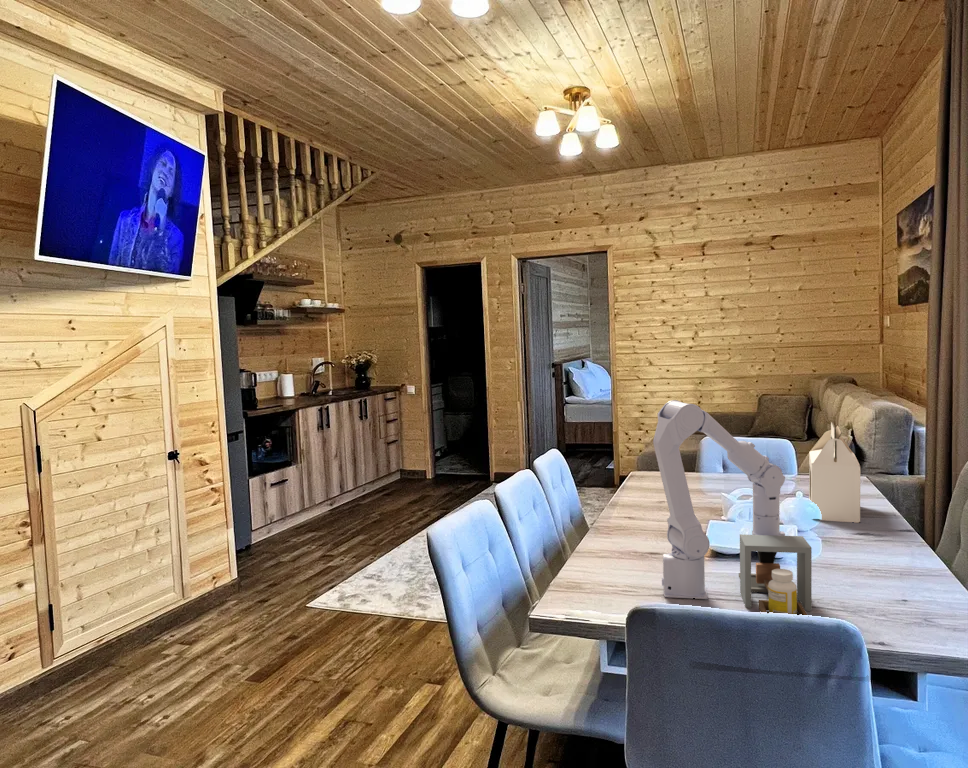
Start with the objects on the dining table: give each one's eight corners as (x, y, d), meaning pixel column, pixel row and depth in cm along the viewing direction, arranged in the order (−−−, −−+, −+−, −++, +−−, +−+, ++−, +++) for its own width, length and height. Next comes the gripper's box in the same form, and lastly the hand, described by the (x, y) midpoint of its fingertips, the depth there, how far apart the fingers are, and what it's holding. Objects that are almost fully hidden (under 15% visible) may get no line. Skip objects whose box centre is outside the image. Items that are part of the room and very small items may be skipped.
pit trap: (744, 591, 156) (744, 588, 156) (738, 576, 166) (738, 573, 166) (796, 594, 154) (796, 590, 154) (787, 578, 163) (787, 575, 163)
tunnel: (745, 607, 148) (744, 545, 147) (740, 593, 155) (739, 534, 154) (811, 610, 145) (811, 547, 144) (802, 596, 152) (802, 536, 151)
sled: (765, 625, 138) (765, 599, 138) (748, 584, 159) (748, 562, 159) (809, 627, 136) (809, 601, 136) (786, 586, 158) (786, 563, 157)
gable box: (860, 523, 205) (860, 431, 202) (811, 520, 210) (811, 429, 208) (853, 505, 225) (854, 420, 223) (809, 502, 230) (809, 420, 228)
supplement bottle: (788, 611, 145) (788, 566, 144) (802, 622, 139) (802, 575, 139) (763, 613, 144) (763, 568, 144) (776, 624, 139) (776, 577, 138)
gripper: (791, 522, 151) (791, 582, 152) (778, 505, 165) (778, 560, 166) (757, 522, 152) (757, 581, 153) (747, 505, 166) (747, 559, 167)
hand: (766, 570), depth 160 cm, fingers closed
